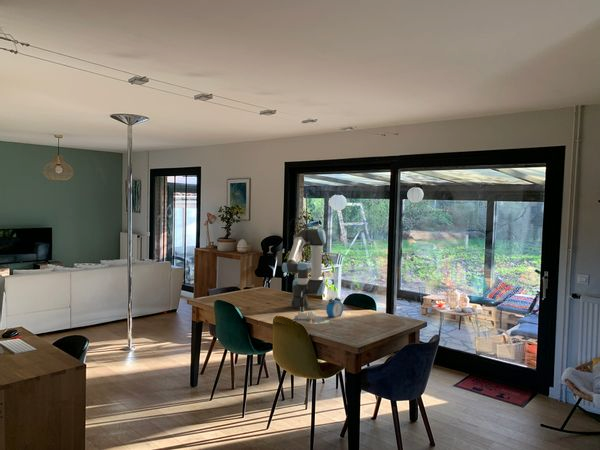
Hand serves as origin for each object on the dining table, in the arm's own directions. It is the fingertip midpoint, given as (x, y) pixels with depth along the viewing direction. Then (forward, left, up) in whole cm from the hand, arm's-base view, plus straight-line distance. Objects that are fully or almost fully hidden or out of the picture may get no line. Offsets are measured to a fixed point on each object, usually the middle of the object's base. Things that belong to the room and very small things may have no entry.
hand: (302, 315), depth 340 cm
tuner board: (+6, +8, -3) cm, 10 cm away
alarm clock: (-9, +24, -3) cm, 25 cm away
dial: (+10, +4, -2) cm, 11 cm away
